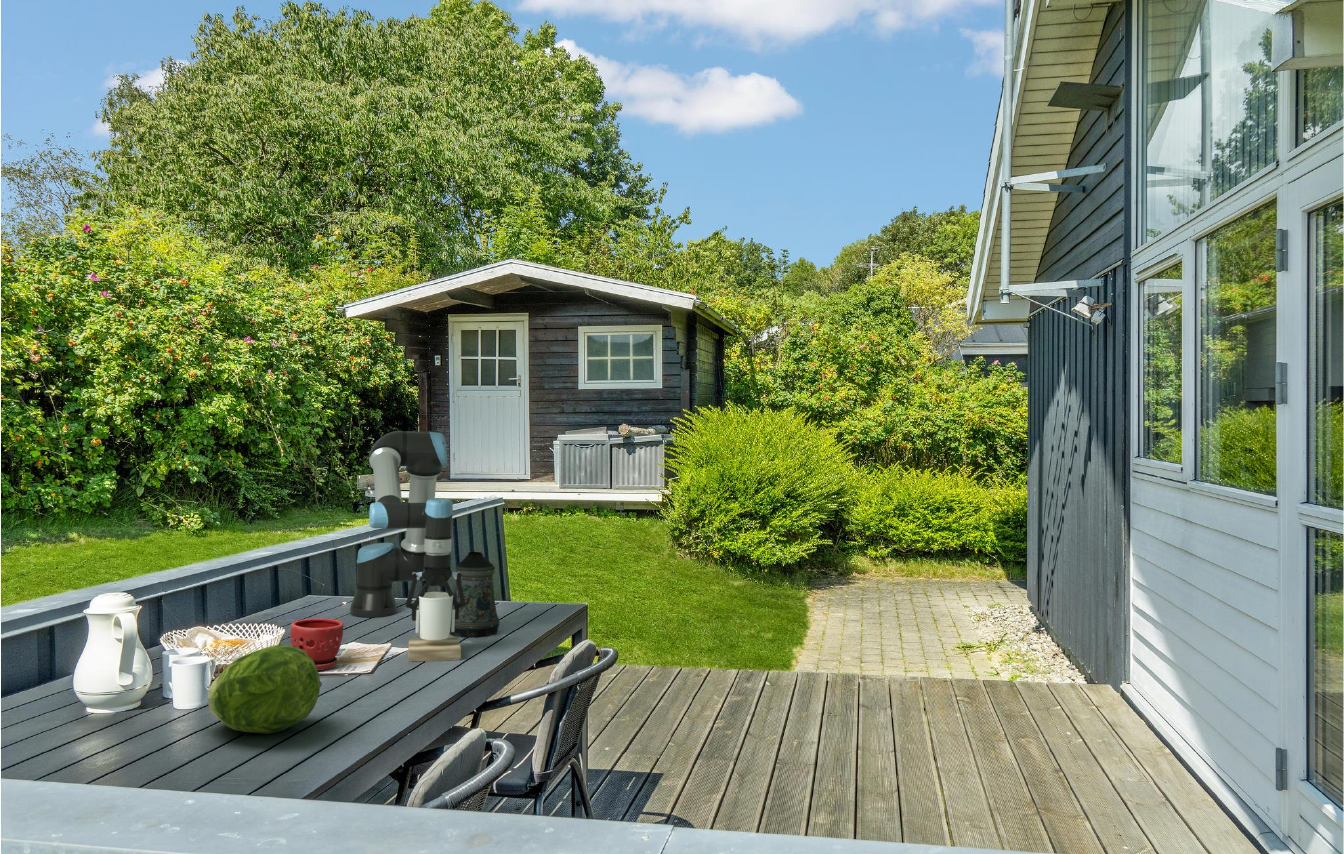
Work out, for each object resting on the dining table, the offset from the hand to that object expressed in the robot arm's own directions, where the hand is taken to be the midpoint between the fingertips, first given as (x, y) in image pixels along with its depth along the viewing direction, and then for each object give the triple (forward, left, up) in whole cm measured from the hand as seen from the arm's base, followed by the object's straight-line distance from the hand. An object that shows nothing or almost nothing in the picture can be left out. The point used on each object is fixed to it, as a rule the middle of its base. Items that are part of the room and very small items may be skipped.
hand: (434, 631), depth 261 cm
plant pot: (+8, -31, -7) cm, 33 cm away
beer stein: (-27, +12, -7) cm, 30 cm away
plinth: (0, 0, -7) cm, 7 cm away
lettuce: (+56, -38, -7) cm, 68 cm away
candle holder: (0, 0, -2) cm, 2 cm away
